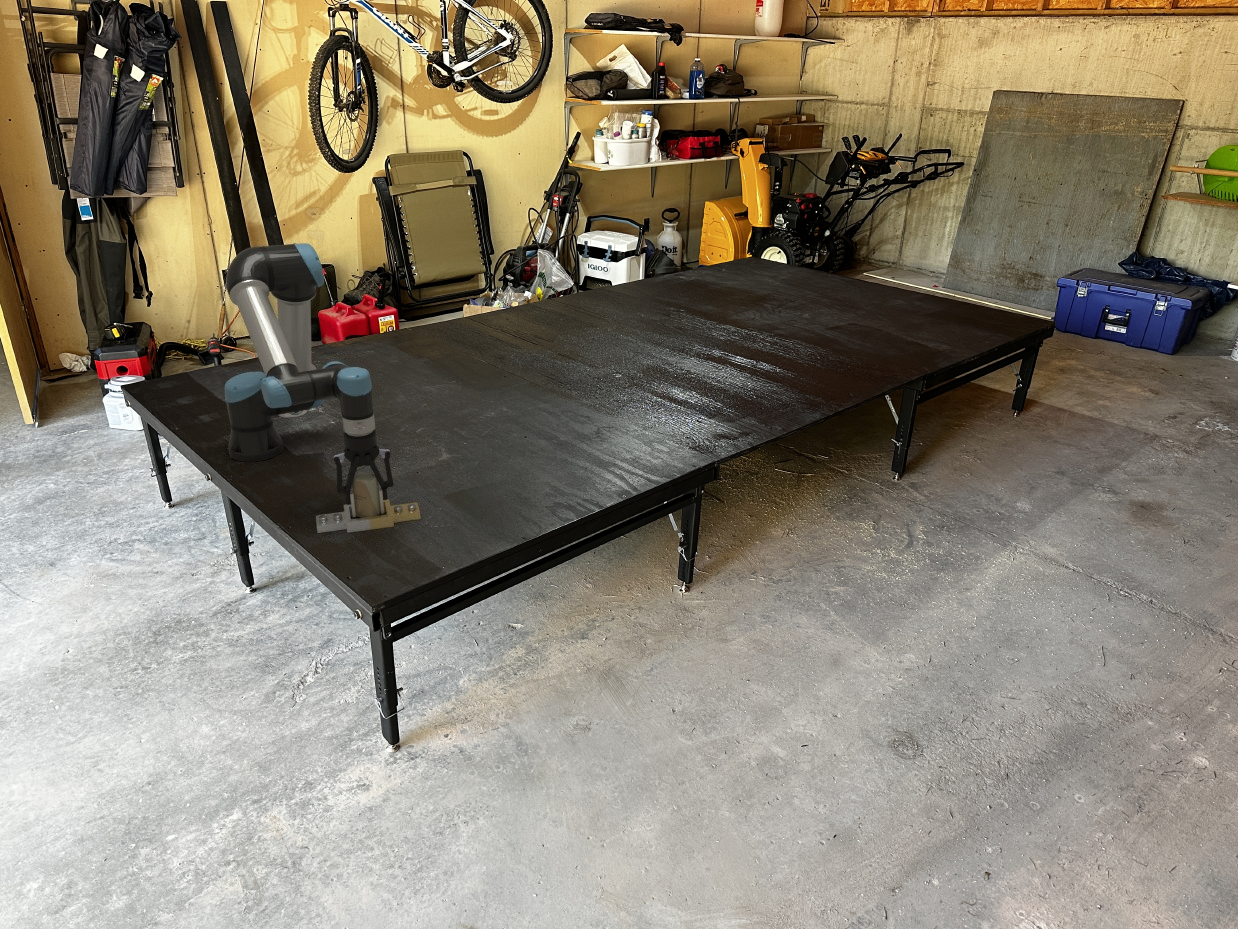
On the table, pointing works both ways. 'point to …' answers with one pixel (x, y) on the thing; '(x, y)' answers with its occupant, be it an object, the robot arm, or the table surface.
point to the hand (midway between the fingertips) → (368, 512)
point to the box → (366, 495)
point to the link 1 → (341, 522)
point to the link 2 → (395, 515)
